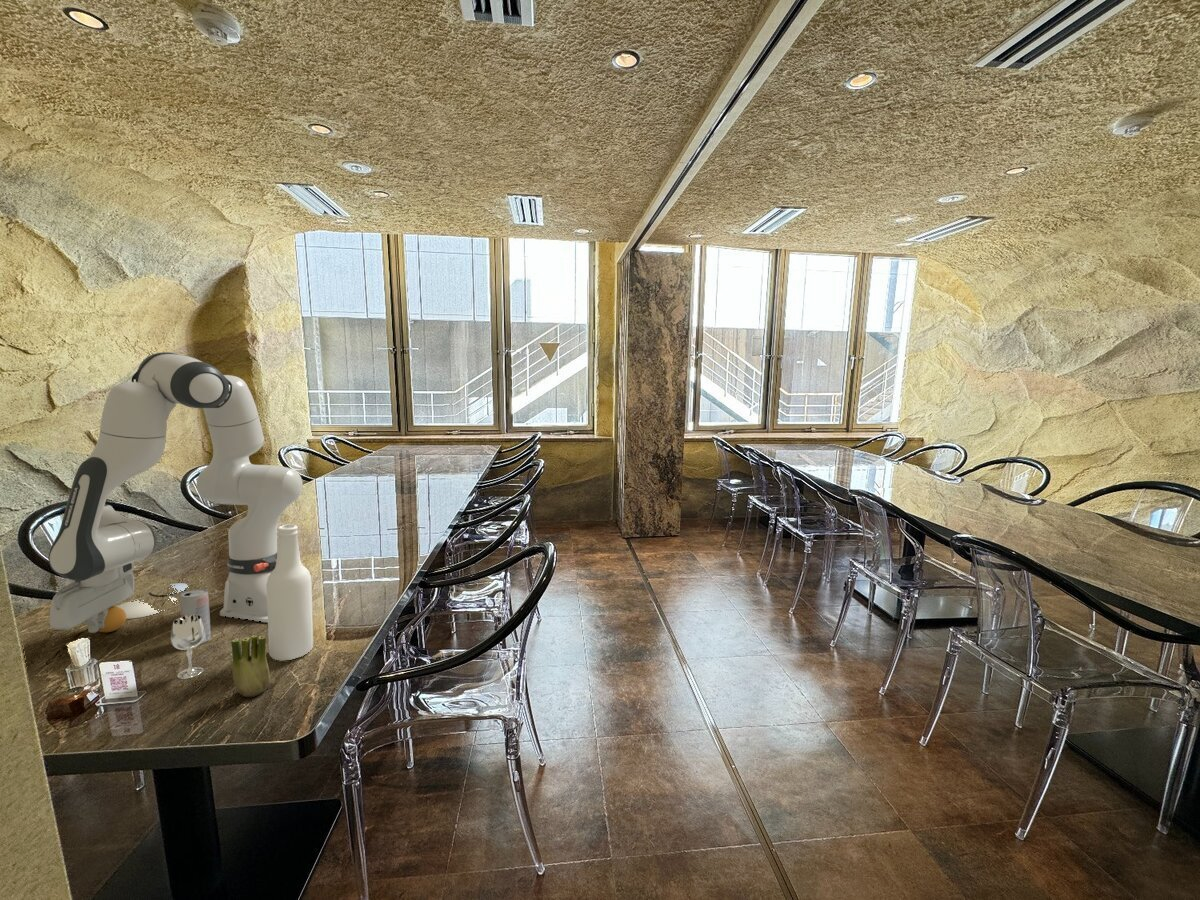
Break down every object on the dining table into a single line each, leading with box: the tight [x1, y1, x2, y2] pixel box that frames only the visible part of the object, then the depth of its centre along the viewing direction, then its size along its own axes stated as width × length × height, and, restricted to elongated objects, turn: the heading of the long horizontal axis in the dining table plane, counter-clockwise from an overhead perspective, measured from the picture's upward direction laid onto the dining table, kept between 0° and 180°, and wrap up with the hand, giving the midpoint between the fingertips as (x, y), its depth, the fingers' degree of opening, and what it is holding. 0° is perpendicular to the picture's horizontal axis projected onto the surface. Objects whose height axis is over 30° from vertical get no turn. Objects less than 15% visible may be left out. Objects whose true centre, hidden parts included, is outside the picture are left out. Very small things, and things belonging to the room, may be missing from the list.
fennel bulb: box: [230, 634, 271, 698], centre depth 106 cm, size 6×5×12 cm
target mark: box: [115, 595, 178, 620], centre depth 141 cm, size 14×14×1 cm
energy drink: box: [179, 588, 212, 646], centre depth 125 cm, size 5×5×12 cm
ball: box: [98, 605, 127, 633], centre depth 128 cm, size 6×6×6 cm
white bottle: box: [266, 524, 314, 662], centre depth 120 cm, size 9×9×30 cm
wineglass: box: [170, 615, 205, 680], centre depth 111 cm, size 6×6×12 cm
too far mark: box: [167, 582, 190, 596], centre depth 153 cm, size 9×9×1 cm
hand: (96, 630), depth 124 cm, fingers closed
